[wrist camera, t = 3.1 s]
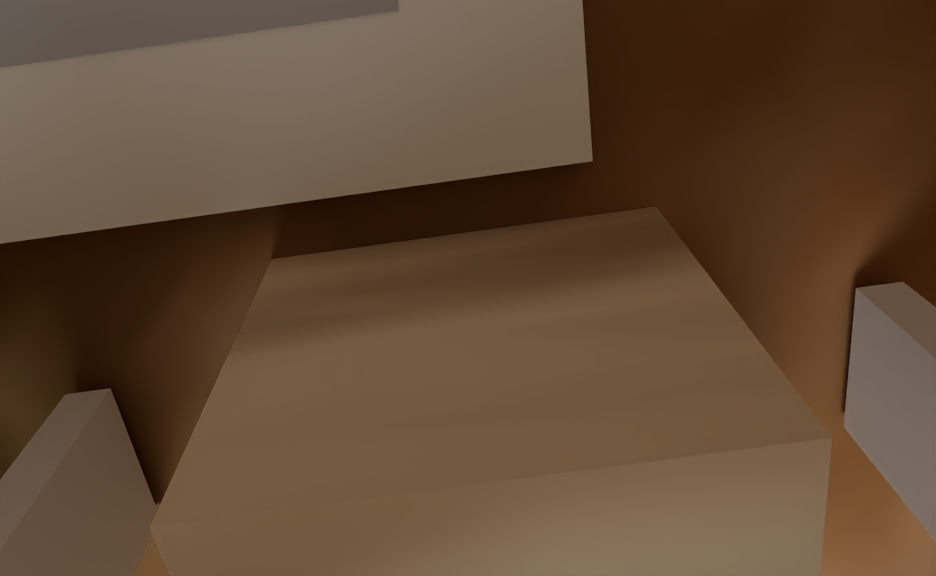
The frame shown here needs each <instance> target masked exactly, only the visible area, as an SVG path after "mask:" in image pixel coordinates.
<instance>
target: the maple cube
mask: <svg viewBox="0 0 936 576" xmlns="http://www.w3.org/2000/svg"><path fill="white" fill-rule="evenodd" d="M831 444H832V437H831V435H830V434H829V433H828V432H827V430H826V429H825V428H824V426H823V425H822V424H821V422H820V421H819V420H818V418H817V417H816V416H815V414H814V413H813V412H812V411H811V409H810V408H809V407H808V405H807V404H806V403H805V401H804V400H803V399H802V397H801V396H800V395H799V393H798V392H797V391H796V389H795V388H794V387H793V386H792V384H791V383H790V382H789V380H788V379H787V378H786V376H785V375H784V374H783V372H782V371H781V370H780V368H779V367H778V366H777V365H776V363H775V362H774V361H773V359H772V358H771V357H770V355H769V354H768V353H767V351H766V350H765V349H764V347H763V346H762V345H761V344H760V342H759V341H758V340H757V338H756V337H755V336H754V334H753V333H752V332H751V330H750V329H749V328H748V326H747V325H746V324H745V323H744V321H743V320H742V319H741V317H740V316H739V315H738V313H737V312H736V311H735V309H734V308H733V307H732V305H731V304H730V303H729V302H728V300H727V299H726V298H725V296H724V295H723V294H722V292H721V291H720V290H719V288H718V287H717V286H716V284H715V283H714V282H713V280H712V279H711V278H710V277H709V275H708V274H707V273H706V271H705V270H704V269H703V267H702V266H701V265H700V263H699V262H698V261H697V259H696V258H695V257H694V256H693V254H692V253H691V252H690V250H689V249H688V248H687V246H686V245H685V244H684V242H683V241H682V240H681V238H680V237H679V236H678V235H677V233H676V232H675V231H674V229H673V228H672V227H671V225H670V224H669V223H668V221H667V220H666V219H665V217H664V216H663V215H662V214H661V212H660V211H659V210H658V208H657V207H656V206H655V207H648V208H641V209H634V210H626V211H619V212H612V213H605V214H597V215H590V216H583V217H575V218H568V219H561V220H554V221H546V222H539V223H532V224H525V225H517V226H510V227H503V228H495V229H488V230H481V231H474V232H466V233H459V234H452V235H445V236H437V237H430V238H423V239H415V240H408V241H401V242H394V243H386V244H379V245H372V246H365V247H357V248H350V249H343V250H335V251H328V252H321V253H314V254H306V255H299V256H292V257H285V258H277V259H271V261H270V263H269V266H268V268H267V270H266V272H265V274H264V277H263V279H262V281H261V283H260V285H259V288H258V290H257V292H256V294H255V296H254V299H253V301H252V303H251V305H250V307H249V310H248V312H247V314H246V316H245V318H244V321H243V323H242V325H241V327H240V329H239V332H238V334H237V336H236V338H235V341H234V343H233V345H232V347H231V349H230V352H229V354H228V356H227V358H226V360H225V363H224V365H223V367H222V369H221V371H220V374H219V376H218V378H217V380H216V382H215V385H214V387H213V389H212V391H211V393H210V396H209V398H208V400H207V402H206V404H205V407H204V409H203V411H202V413H201V415H200V418H199V420H198V422H197V424H196V426H195V429H194V431H193V433H192V435H191V437H190V440H189V442H188V444H187V446H186V449H185V451H184V453H183V455H182V457H181V460H180V462H179V464H178V466H177V468H176V471H175V473H174V475H173V477H172V479H171V482H170V484H169V486H168V488H167V490H166V493H165V495H164V497H163V499H162V501H161V504H160V506H159V508H158V510H157V512H156V515H155V517H154V519H153V521H152V523H151V526H150V530H151V533H152V535H153V538H154V540H155V543H156V545H157V548H158V550H159V553H160V555H161V558H162V560H163V563H164V565H165V568H166V570H167V573H168V575H169V576H820V573H821V562H822V550H823V538H824V527H825V515H826V503H827V491H828V480H829V468H830V456H831Z"/></svg>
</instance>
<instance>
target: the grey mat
mask: <svg viewBox="0 0 936 576" xmlns="http://www.w3.org/2000/svg"><path fill="white" fill-rule="evenodd" d="M590 161H593V158H592V142H591V127H590V112H589V96H588V81H587V65H586V50H585V34H584V19H583V3H582V0H0V244H2V243H9V242H16V241H23V240H31V239H38V238H45V237H52V236H59V235H66V234H74V233H81V232H88V231H95V230H102V229H110V228H117V227H124V226H131V225H138V224H145V223H153V222H160V221H167V220H174V219H181V218H188V217H196V216H203V215H210V214H217V213H224V212H231V211H239V210H246V209H253V208H260V207H267V206H274V205H282V204H289V203H296V202H303V201H310V200H318V199H325V198H332V197H339V196H346V195H353V194H361V193H368V192H375V191H382V190H389V189H396V188H404V187H411V186H418V185H425V184H432V183H439V182H447V181H454V180H461V179H468V178H475V177H483V176H490V175H497V174H504V173H511V172H518V171H526V170H533V169H540V168H547V167H554V166H561V165H569V164H576V163H583V162H590Z"/></svg>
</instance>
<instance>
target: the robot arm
mask: <svg viewBox="0 0 936 576" xmlns="http://www.w3.org/2000/svg"><path fill="white" fill-rule="evenodd" d="M844 428H845V429H846V430H847V431H848V433H849V434H850V435H851V436H852V438H853V439H854V440H855V441H856V443H857V444H858V445H859V446H860V448H861V449H862V450H863V451H864V453H865V454H866V455H867V456H868V458H869V459H870V460H871V461H872V463H873V464H874V465H875V466H876V468H877V469H878V470H879V471H880V473H881V474H882V475H883V476H884V478H885V479H886V480H887V481H888V483H889V484H890V485H891V486H892V488H893V489H894V490H895V491H896V493H897V494H898V495H899V496H900V498H901V499H902V500H903V501H904V503H905V504H906V505H907V506H908V508H909V509H910V510H911V511H912V513H913V514H914V515H915V516H916V518H917V519H918V520H919V521H920V523H921V524H922V525H923V526H924V528H925V529H926V530H927V531H928V533H929V534H930V535H931V536H932V538H933V539H934V540H935V541H936V307H935V306H933V305H932V304H931V303H930V302H928V301H927V300H926V299H924V298H923V297H922V296H921V295H919V294H918V293H917V292H916V291H914V290H913V289H912V288H910V287H909V286H908V285H907V284H905V283H904V282H897V283H889V284H882V285H874V286H867V287H859V288H856V293H855V304H854V315H853V327H852V338H851V349H850V361H849V372H848V383H847V395H846V406H845V417H844ZM156 512H157V508H156V505H155V503H154V500H153V498H152V495H151V492H150V490H149V487H148V485H147V482H146V479H145V477H144V474H143V472H142V469H141V466H140V464H139V461H138V459H137V456H136V453H135V451H134V448H133V446H132V443H131V440H130V438H129V435H128V432H127V430H126V427H125V425H124V422H123V419H122V417H121V414H120V412H119V409H118V406H117V404H116V401H115V399H114V396H113V393H112V391H111V388H109V389H102V390H94V391H87V392H79V393H72V394H65V395H64V397H63V398H62V399H61V401H60V402H59V403H58V405H57V406H56V407H55V409H54V410H53V411H52V412H51V414H50V415H49V416H48V418H47V419H46V420H45V422H44V423H43V424H42V426H41V427H40V428H39V429H38V431H37V432H36V433H35V435H34V436H33V437H32V439H31V440H30V441H29V443H28V444H27V445H26V446H25V448H24V449H23V450H22V452H21V453H20V454H19V456H18V457H17V458H16V460H15V461H14V462H13V463H12V465H11V466H10V467H9V469H8V470H7V471H6V473H5V474H4V475H3V477H2V478H1V479H0V576H133V574H134V572H135V570H136V567H137V565H138V563H139V561H140V559H141V556H142V554H143V552H144V550H145V548H146V545H147V543H148V541H149V539H150V537H151V534H152V533H151V530H150V526H151V523H152V521H153V519H154V517H155V515H156Z"/></svg>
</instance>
